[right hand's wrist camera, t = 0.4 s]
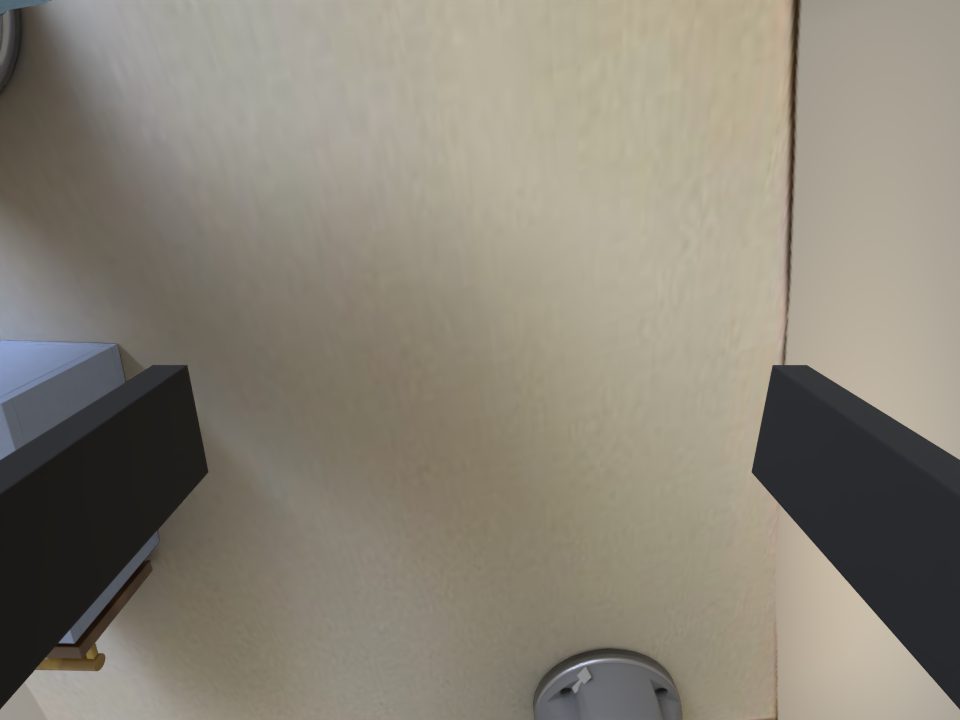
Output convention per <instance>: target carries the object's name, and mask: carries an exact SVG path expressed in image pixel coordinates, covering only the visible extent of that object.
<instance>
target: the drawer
mask: <svg viewBox="0 0 960 720" xmlns="http://www.w3.org/2000/svg"><path fill="white" fill-rule="evenodd" d="M151 572H152V566H151V562H150V560H144V561H143V562H142V563H141V564H140V566H139V567H138V568H137V569H136V570H135V572H134V573H133V574H132V575H131V576H130V577H129V579H128V580H127V581H126V582H125V583H124V585H123V586H122V587H121V588H120V589H119V591H118V592H117V593H116V594H115V595H114V597H113V598H112V599H111V600H110V601H109V603H108V604H107V605H106V606H105V607H104V609H103V610H102V611H101V612H100V613H99V615H98V616H97V617H96V618H95V619H94V621H93V622H92V623H91V624H90V625H89V627H88V628H87V629H86V630H85V631H84V633H83V634H82V635H81V636H80V637H79V639H78V640H77V641H76V642H75V643H74V644H73V643H58V644H57V645H56V646H55V647H54V649H53V650H52V651H51V652H50V653H49V654H48V655H47V657H46V658H45V659H44V660H43V661H42V662H41V663H40V665H39V666H38V667H37V668H36V669H35V670H72V671H99V670H100V669H101V668H102V667H103V665H104V662H105V655H104V654H103V653H98V651H97V647H96V644H95V642H96V641H97V640H98V638H99V637H100V636H101V635H102V633H103V632H104V631H105V630H106V628H107V627H108V626H109V624H110V623H111V622H112V621H113V619H114V618H115V617H116V616H117V614H118V613H119V612H120V611H121V609H122V608H123V607H124V606H125V604H126V603H127V602H128V601H129V599H130V598H131V597H132V595H133V594H134V593H135V592H136V590H137V589H138V588H139V587H140V585H141V584H142V583H143V582H144V580H145V579H146V578H147V577H148V575H149V574H150V573H151Z"/></svg>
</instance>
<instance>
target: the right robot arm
mask: <svg viewBox="0 0 960 720" xmlns="http://www.w3.org/2000/svg"><path fill="white" fill-rule="evenodd" d="M207 473H208V468H207V463H206V458H205V453H204V448H203V442H202V437H201V432H200V427H199V422H198V417H197V412H196V407H195V402H194V397H193V392H192V387H191V382H190V377H189V372H188V367H187V365H153V366H151V367H149V368H148V369H146V370H145V371H143V372H141V373H140V374H138V375H137V376H135V377H133V378H132V379H130V380H129V381H127V382H125V383H124V384H122V385H120V386H119V387H117V388H116V389H114V390H112V391H111V392H109V393H108V394H106V395H104V396H103V397H101V398H99V399H98V400H96V401H95V402H93V403H91V404H90V405H88V406H87V407H85V408H83V409H82V410H80V411H78V412H77V413H75V414H74V415H72V416H70V417H69V418H67V419H66V420H64V421H62V422H61V423H59V424H58V425H56V426H54V427H53V428H51V429H49V430H48V431H46V432H45V433H43V434H41V435H40V436H38V437H37V438H35V439H33V440H32V441H30V442H28V443H27V444H25V445H24V446H22V447H20V448H19V449H17V450H16V451H14V452H12V453H11V454H9V455H8V456H6V457H4V458H3V459H1V460H0V709H1V708H2V707H3V705H4V704H5V703H6V702H7V701H8V700H9V699H10V698H11V696H12V695H13V694H14V693H15V692H16V691H17V690H18V688H19V687H20V686H21V685H22V684H23V683H24V682H25V680H26V679H27V678H28V677H29V676H30V675H31V674H32V672H33V671H34V670H35V669H36V668H37V667H38V666H39V665H40V663H41V662H42V661H43V660H44V659H45V658H46V657H47V655H48V654H49V653H50V652H51V651H52V650H53V649H54V647H55V646H56V645H57V644H58V643H59V642H60V641H61V639H62V638H63V637H64V636H65V635H66V634H67V633H68V631H69V630H70V629H71V628H72V627H73V626H74V625H75V623H76V622H77V621H78V620H79V619H80V618H81V617H82V616H83V614H84V613H85V612H86V611H87V610H88V609H89V608H90V606H91V605H92V604H93V603H94V602H95V601H96V600H97V598H98V597H99V596H100V595H101V594H102V593H103V592H104V590H105V589H106V588H107V587H108V586H109V585H110V584H111V582H112V581H113V580H114V579H115V578H116V577H117V576H118V575H119V573H120V572H121V571H122V570H123V569H124V568H125V567H126V565H127V564H128V563H129V562H130V561H131V560H132V559H133V557H134V556H135V555H136V554H137V553H138V552H139V551H140V549H141V548H142V547H143V546H144V545H145V544H146V543H147V541H148V540H149V539H150V538H151V537H152V536H153V535H154V533H155V532H156V531H157V530H158V529H159V528H160V527H161V526H162V524H163V523H164V522H165V521H166V520H167V519H168V518H169V516H170V515H171V514H172V513H173V512H174V511H175V510H176V508H177V507H178V506H179V505H180V504H181V503H182V502H183V500H184V499H185V498H186V497H187V496H188V495H189V494H190V492H191V491H192V490H193V489H194V488H195V487H196V486H197V484H198V483H199V482H200V481H201V480H202V479H203V478H204V477H205V475H206V474H207ZM752 473H753V474H754V475H755V477H756V478H757V479H758V480H759V481H760V482H761V483H762V484H763V486H764V487H765V488H766V489H767V490H768V491H769V492H770V494H771V495H772V496H773V497H774V498H775V499H776V500H777V502H778V503H779V504H780V505H781V506H782V507H783V508H784V510H785V511H786V512H787V513H788V514H789V515H790V516H791V518H792V519H793V520H794V521H795V522H796V523H797V524H798V526H799V527H800V528H801V529H802V530H803V531H804V532H805V533H806V535H807V536H808V537H809V538H810V539H811V540H812V541H813V543H814V544H815V545H816V546H817V547H818V548H819V549H820V551H821V552H822V553H823V554H824V555H825V556H826V557H827V559H828V560H829V561H830V562H831V563H832V564H833V565H834V567H835V568H836V569H837V570H838V571H839V572H840V573H841V575H842V576H843V577H844V578H845V579H846V580H847V581H848V582H849V584H850V585H851V586H852V587H853V588H854V589H855V590H856V592H857V593H858V594H859V595H860V596H861V597H862V598H863V600H864V601H865V602H866V603H867V604H868V605H869V606H870V607H871V609H872V610H873V611H874V612H875V613H876V614H877V616H878V617H879V618H880V619H881V620H882V621H883V622H884V623H885V625H886V626H887V627H888V628H889V629H890V630H891V631H892V633H893V634H894V635H895V636H896V637H897V638H898V639H899V641H900V642H901V643H902V644H903V645H904V646H905V647H906V649H907V650H908V651H909V652H910V653H911V654H912V655H913V656H914V658H915V659H916V660H917V661H918V662H919V663H920V665H921V666H922V667H923V668H924V669H925V670H926V671H927V672H928V674H929V675H930V676H931V677H932V678H933V679H934V680H935V682H936V683H937V684H938V685H939V686H940V687H941V688H942V690H943V691H944V692H945V693H946V694H947V695H948V696H949V698H950V699H951V700H952V701H953V702H954V703H955V704H956V706H957V707H958V708H959V709H960V460H959V459H957V458H956V457H954V456H952V455H951V454H949V453H948V452H946V451H944V450H943V449H941V448H940V447H938V446H936V445H935V444H933V443H931V442H930V441H928V440H927V439H925V438H923V437H922V436H920V435H919V434H917V433H915V432H914V431H912V430H911V429H909V428H907V427H906V426H904V425H902V424H901V423H899V422H898V421H896V420H894V419H893V418H891V417H890V416H888V415H886V414H885V413H883V412H882V411H880V410H878V409H877V408H875V407H873V406H872V405H870V404H869V403H867V402H865V401H864V400H862V399H861V398H859V397H857V396H856V395H854V394H852V393H851V392H849V391H848V390H846V389H844V388H843V387H841V386H839V385H838V384H836V383H835V382H833V381H831V380H830V379H828V378H827V377H825V376H823V375H822V374H820V373H819V372H817V371H815V370H814V369H812V368H810V367H809V366H807V365H773V367H772V372H771V377H770V382H769V387H768V392H767V397H766V402H765V407H764V412H763V417H762V422H761V427H760V432H759V437H758V442H757V448H756V453H755V458H754V463H753V468H752ZM533 708H534V718H535V720H682V708H681V701H680V698H679V695H678V692H677V690H676V687H675V684H674V682H673V680H672V678H671V676H670V675H669V673H668V672H667V671H666V670H665V669H664V668H663V667H662V666H661V665H660V664H658V663H657V662H656V661H654V660H652V659H650V658H648V657H646V656H644V655H641V654H638V653H635V652H631V651H626V650H616V649H606V650H595V651H590V652H586V653H582V654H579V655H576V656H574V657H571V658H569V659H567V660H565V661H563V662H561V663H560V664H558V665H557V666H555V667H554V668H553V669H552V670H551V671H549V672H548V673H547V674H546V676H545V677H544V678H543V679H542V681H541V682H540V684H539V685H538V687H537V690H536V692H535V696H534V702H533Z"/></svg>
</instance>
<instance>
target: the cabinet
mask: <svg viewBox="0 0 960 720" xmlns="http://www.w3.org/2000/svg"><path fill="white" fill-rule="evenodd" d="M124 383H125V377H124V372H123V368H122V363H121V358H120V354H119V349H118V344H105V343H73V342H41V341H9V340H0V460H1V459H3V458H4V457H6V456H8V455H9V454H11V453H12V452H14V451H16V450H17V449H19V448H20V447H22V446H24V445H25V444H27V443H28V442H30V441H32V440H33V439H35V438H37V437H38V436H40V435H41V434H43V433H45V432H46V431H48V430H49V429H51V428H53V427H54V426H56V425H58V424H59V423H61V422H62V421H64V420H66V419H67V418H69V417H70V416H72V415H74V414H75V413H77V412H78V411H80V410H82V409H83V408H85V407H87V406H88V405H90V404H91V403H93V402H95V401H96V400H98V399H99V398H101V397H103V396H104V395H106V394H108V393H109V392H111V391H112V390H114V389H116V388H117V387H119V386H120V385H122V384H124ZM158 543H159V537H158V532H157V531H156V532H155V533H154V535H153V536H152V537H151V538H150V539H149V540H148V541H147V543H146V544H145V545H144V546H143V547H142V548H141V549H140V551H139V552H138V553H137V554H136V555H135V556H134V557H133V559H132V560H131V561H130V562H129V563H128V564H127V565H126V567H125V568H124V569H123V570H122V571H121V572H120V573H119V575H118V576H117V577H116V578H115V579H114V580H113V581H112V582H111V584H110V585H109V586H108V587H107V588H106V589H105V590H104V592H103V593H102V594H101V595H100V596H99V597H98V598H97V600H96V601H95V602H94V603H93V604H92V605H91V606H90V608H89V609H88V610H87V611H86V612H85V613H84V614H83V616H82V617H81V618H80V619H79V620H78V621H77V622H76V623H75V625H74V626H73V627H72V628H71V629H70V630H69V631H68V633H67V634H66V635H65V636H64V637H63V638H62V639H61V641H60V642H59V643H73V644H74V643H75V642H76V641H77V640H78V639H79V637H80V636H81V635H82V634H83V633H84V631H85V630H86V629H87V628H88V627H89V625H90V624H91V623H92V622H93V621H94V619H95V618H96V617H97V616H98V615H99V613H100V612H101V611H102V610H103V609H104V607H105V606H106V605H107V604H108V603H109V601H110V600H111V599H112V598H113V597H114V595H115V594H116V593H117V592H118V591H119V589H120V588H121V587H122V586H123V585H124V583H125V582H126V581H127V580H128V579H129V577H130V576H131V575H132V574H133V573H134V572H135V570H136V569H137V568H138V567H139V566H140V564H141V563H142V562H143V561H144V560H145V558H146V557H147V556H148V555H149V554H150V552H151V551H152V550H153V549H154V547H155V546H156V545H157V544H158Z"/></svg>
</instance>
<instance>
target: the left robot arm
mask: <svg viewBox="0 0 960 720" xmlns="http://www.w3.org/2000/svg"><path fill="white" fill-rule="evenodd" d="M49 1H51V0H0V91H1V90H2V89H3V87H4V86H5V85H6V83H7V81H8V79H9V78H10V76H11V73H12V71H13V68H14V66H15V62H16V59H17V55H18V49H19V41H20V17H19V9H18V8H24V7H30V6H36V5H40V4H44V3H47V2H49Z"/></svg>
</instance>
